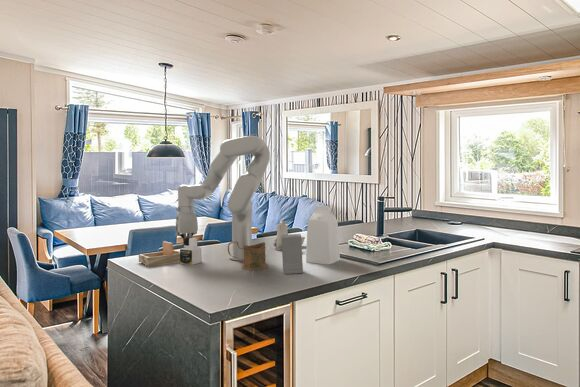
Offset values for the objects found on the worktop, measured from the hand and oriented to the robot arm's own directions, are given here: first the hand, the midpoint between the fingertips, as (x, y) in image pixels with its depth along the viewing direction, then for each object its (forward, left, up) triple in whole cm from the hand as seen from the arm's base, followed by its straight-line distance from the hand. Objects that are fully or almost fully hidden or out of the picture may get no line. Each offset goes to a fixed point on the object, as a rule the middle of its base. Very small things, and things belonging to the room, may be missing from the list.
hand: (186, 246), depth 221 cm
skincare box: (-60, -18, -6) cm, 63 cm away
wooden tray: (0, +13, -6) cm, 14 cm away
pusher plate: (0, +10, -5) cm, 11 cm away
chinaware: (-13, -53, -6) cm, 55 cm away
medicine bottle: (-12, +4, -6) cm, 14 cm away
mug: (-39, -10, -6) cm, 41 cm away
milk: (-51, -44, -6) cm, 68 cm away
